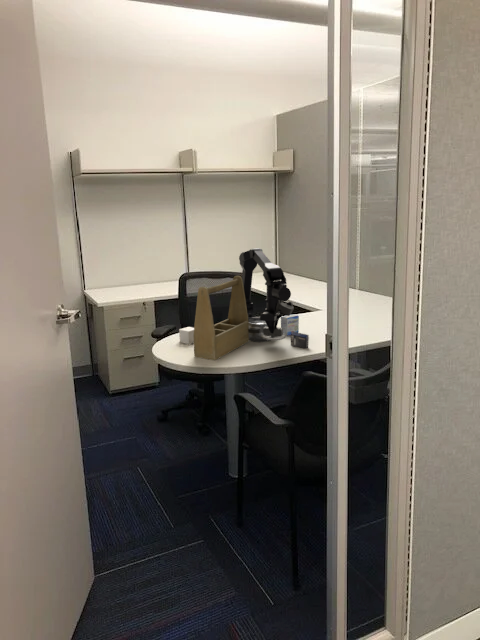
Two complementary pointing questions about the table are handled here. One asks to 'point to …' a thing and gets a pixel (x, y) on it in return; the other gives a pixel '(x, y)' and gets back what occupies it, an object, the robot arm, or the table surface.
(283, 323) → the medicine box
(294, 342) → the mini dv tape
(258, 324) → the pot
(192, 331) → the white cube
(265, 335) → the lid
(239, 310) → the caddy
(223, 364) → the table surface
